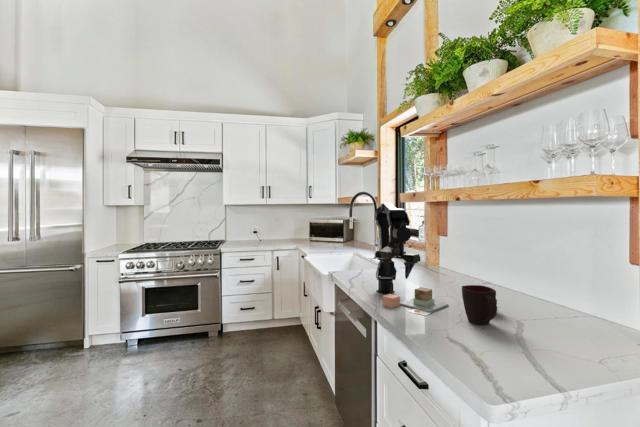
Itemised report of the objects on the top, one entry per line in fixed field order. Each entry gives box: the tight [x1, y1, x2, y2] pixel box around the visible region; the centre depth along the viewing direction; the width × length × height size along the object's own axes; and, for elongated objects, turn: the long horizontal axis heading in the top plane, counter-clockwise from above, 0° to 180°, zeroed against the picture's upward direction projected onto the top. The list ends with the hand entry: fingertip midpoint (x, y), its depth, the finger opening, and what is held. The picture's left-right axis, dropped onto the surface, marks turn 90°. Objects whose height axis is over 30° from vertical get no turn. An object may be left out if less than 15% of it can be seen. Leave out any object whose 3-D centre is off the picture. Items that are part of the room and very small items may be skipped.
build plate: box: [400, 297, 449, 314], centre depth 133 cm, size 14×14×3 cm
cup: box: [461, 284, 498, 326], centre depth 111 cm, size 10×14×12 cm
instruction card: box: [408, 308, 431, 317], centre depth 124 cm, size 7×5×1 cm
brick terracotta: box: [382, 293, 401, 309], centre depth 133 cm, size 5×5×4 cm
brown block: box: [414, 286, 433, 301], centre depth 133 cm, size 5×5×4 cm
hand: (396, 276), depth 133 cm, fingers open, 9 cm apart
